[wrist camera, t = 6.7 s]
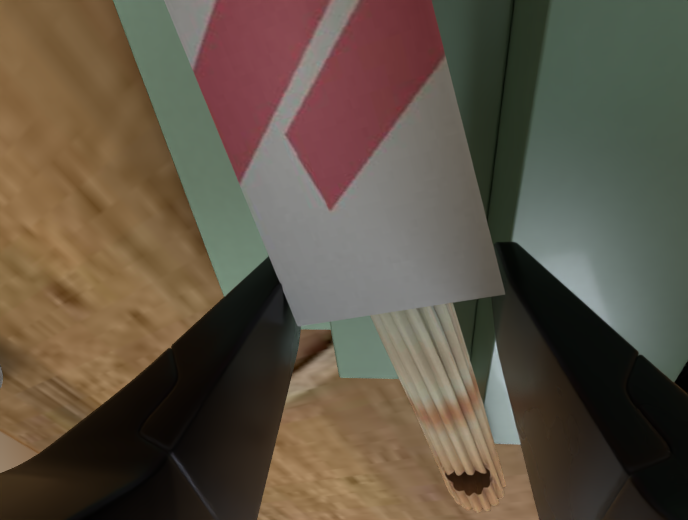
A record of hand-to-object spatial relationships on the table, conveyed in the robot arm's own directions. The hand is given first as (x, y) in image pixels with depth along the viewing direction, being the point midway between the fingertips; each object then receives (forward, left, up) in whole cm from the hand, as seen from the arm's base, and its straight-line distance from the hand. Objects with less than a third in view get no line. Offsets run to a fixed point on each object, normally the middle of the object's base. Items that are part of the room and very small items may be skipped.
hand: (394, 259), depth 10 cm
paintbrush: (0, 0, -1) cm, 1 cm away
